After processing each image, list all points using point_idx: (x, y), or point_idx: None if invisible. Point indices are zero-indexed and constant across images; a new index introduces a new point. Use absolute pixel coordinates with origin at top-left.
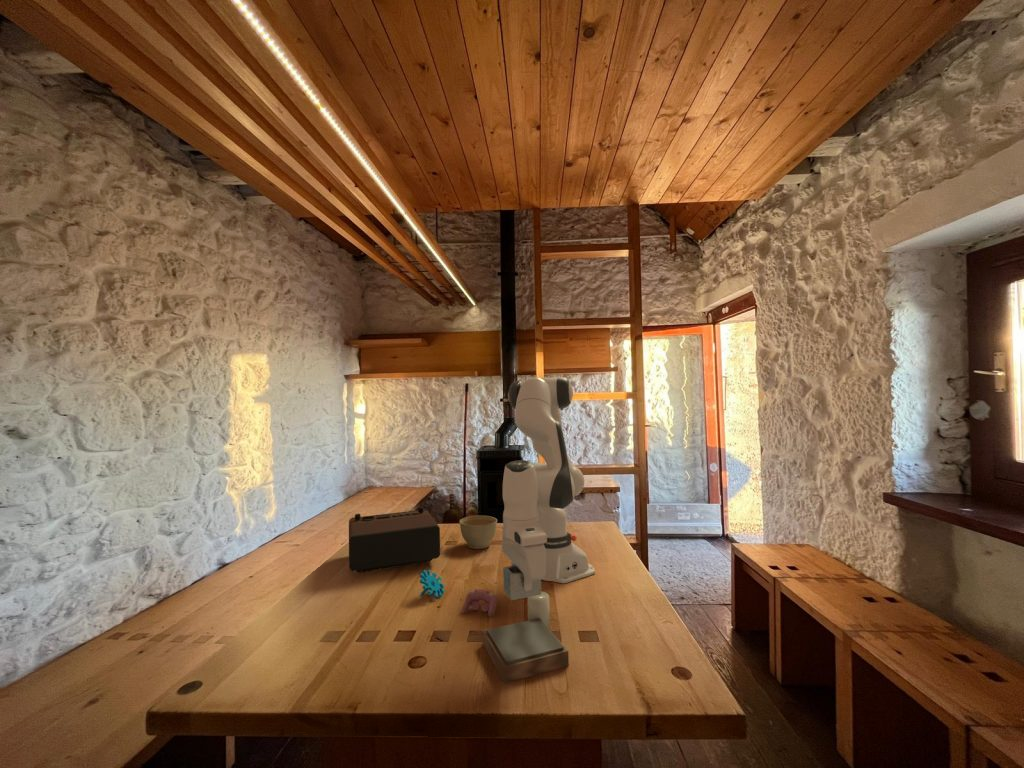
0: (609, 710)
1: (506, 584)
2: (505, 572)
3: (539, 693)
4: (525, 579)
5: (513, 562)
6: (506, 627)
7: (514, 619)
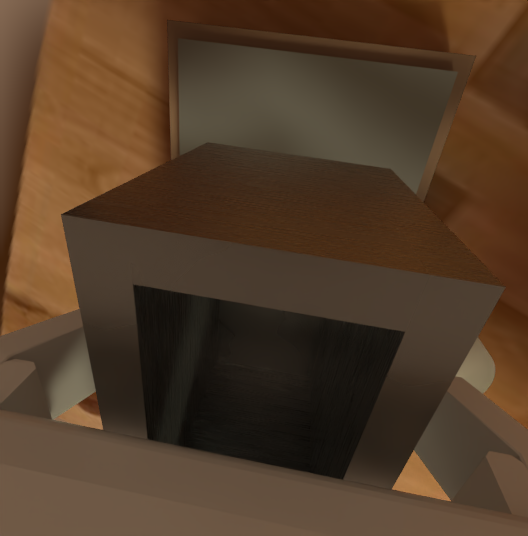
0: (19, 235)
1: (312, 181)
2: (352, 238)
3: (110, 118)
4: (5, 337)
5: (343, 506)
6: (407, 169)
7: (506, 260)
